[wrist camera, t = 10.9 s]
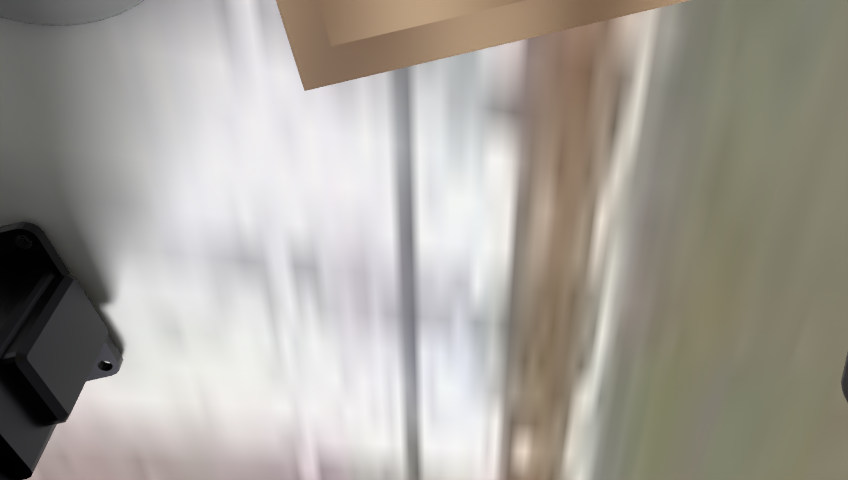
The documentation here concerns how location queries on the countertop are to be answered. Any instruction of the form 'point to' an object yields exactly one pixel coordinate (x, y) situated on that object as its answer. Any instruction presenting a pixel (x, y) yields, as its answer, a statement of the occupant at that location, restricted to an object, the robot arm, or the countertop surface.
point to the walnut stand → (423, 30)
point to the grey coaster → (63, 10)
